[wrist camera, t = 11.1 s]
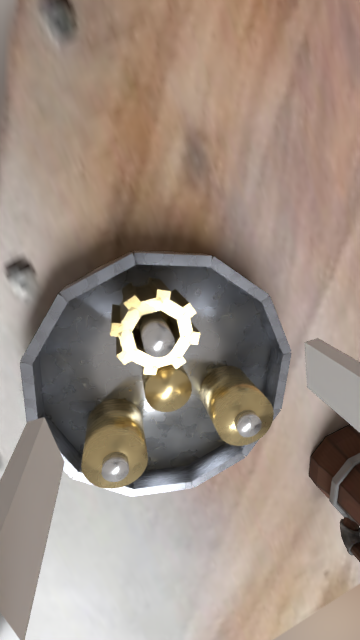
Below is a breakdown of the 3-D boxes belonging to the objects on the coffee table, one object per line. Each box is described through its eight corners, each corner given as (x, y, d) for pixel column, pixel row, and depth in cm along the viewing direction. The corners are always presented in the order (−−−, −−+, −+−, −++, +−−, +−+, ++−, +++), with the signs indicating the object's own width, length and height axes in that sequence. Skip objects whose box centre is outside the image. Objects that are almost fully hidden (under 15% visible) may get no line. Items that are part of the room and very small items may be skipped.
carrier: (116, 194, 27) (117, 177, 18) (310, 327, 36) (374, 360, 27) (-12, 421, 31) (-62, 498, 22) (192, 490, 40) (214, 566, 31)
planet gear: (136, 264, 28) (141, 273, 22) (196, 301, 30) (215, 318, 25) (98, 327, 29) (94, 350, 23) (159, 358, 31) (169, 386, 26)
